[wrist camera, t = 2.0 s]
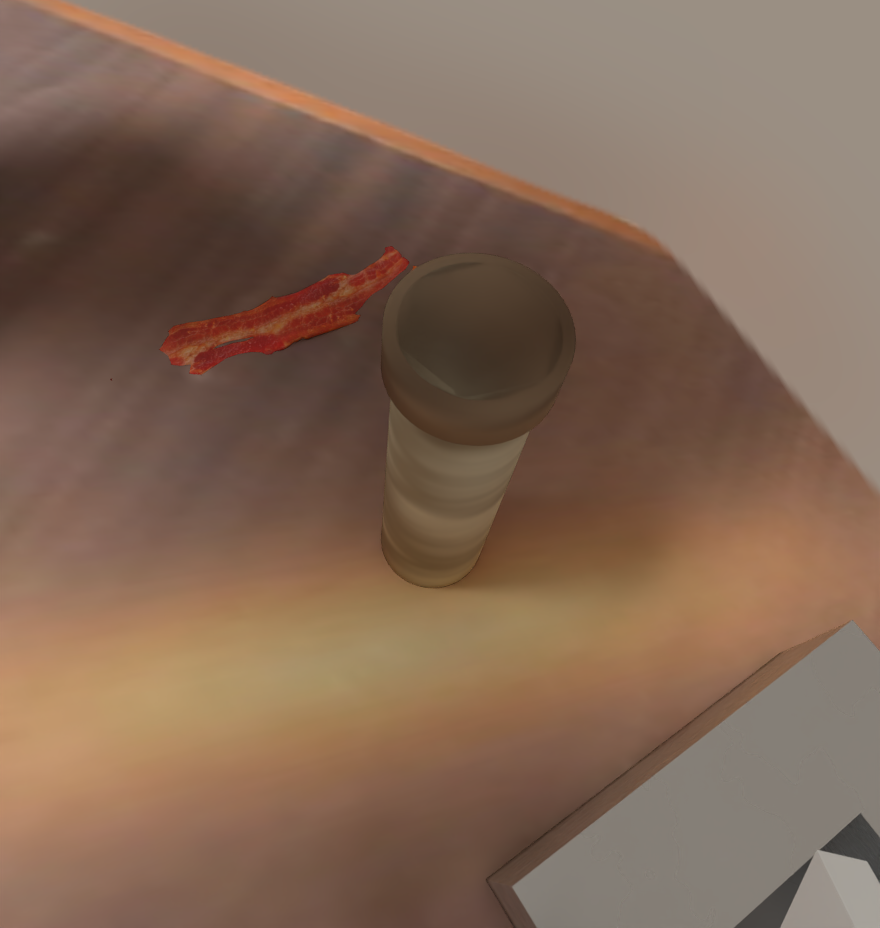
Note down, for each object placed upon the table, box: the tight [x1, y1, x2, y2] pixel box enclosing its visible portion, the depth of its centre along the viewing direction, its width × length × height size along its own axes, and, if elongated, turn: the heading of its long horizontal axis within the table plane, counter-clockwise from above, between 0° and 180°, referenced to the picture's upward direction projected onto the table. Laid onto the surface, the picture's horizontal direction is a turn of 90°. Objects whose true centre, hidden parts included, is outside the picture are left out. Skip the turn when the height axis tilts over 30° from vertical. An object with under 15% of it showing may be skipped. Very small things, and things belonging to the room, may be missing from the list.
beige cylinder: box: [381, 253, 576, 588], centre depth 24 cm, size 5×5×14 cm
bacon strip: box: [110, 246, 417, 381], centre depth 35 cm, size 4×15×1 cm, turn 123°
